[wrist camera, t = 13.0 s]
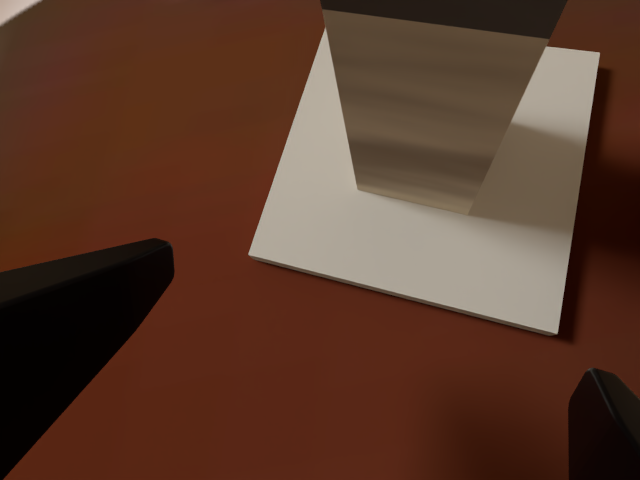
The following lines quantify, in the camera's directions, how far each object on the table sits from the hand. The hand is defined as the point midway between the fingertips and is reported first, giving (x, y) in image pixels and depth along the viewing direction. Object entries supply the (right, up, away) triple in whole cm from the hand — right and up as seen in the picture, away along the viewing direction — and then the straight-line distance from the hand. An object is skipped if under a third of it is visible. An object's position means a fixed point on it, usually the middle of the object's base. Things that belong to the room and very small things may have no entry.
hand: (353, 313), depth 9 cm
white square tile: (+4, +5, +10) cm, 12 cm away
